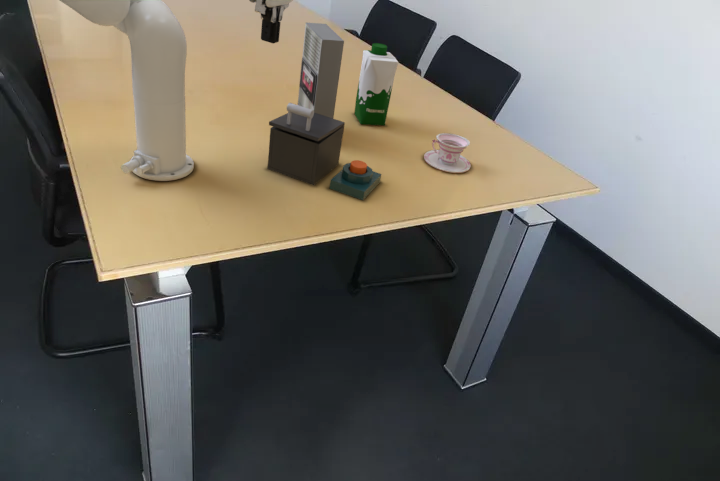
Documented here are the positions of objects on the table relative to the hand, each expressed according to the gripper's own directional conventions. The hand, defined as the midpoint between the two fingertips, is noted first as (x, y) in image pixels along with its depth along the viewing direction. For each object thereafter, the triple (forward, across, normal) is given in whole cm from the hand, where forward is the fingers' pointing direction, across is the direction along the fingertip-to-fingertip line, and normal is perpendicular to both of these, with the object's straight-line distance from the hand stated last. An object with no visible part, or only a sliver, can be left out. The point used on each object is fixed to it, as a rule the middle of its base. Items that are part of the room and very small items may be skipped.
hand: (269, 40), depth 112 cm
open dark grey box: (+27, -4, +9) cm, 28 cm away
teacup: (+26, -31, +36) cm, 54 cm away
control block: (+26, -4, +22) cm, 35 cm away
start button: (+23, -4, +22) cm, 32 cm away
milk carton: (+26, -42, +10) cm, 50 cm away
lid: (+16, -4, +9) cm, 19 cm away
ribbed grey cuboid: (+27, -24, +1) cm, 36 cm away
